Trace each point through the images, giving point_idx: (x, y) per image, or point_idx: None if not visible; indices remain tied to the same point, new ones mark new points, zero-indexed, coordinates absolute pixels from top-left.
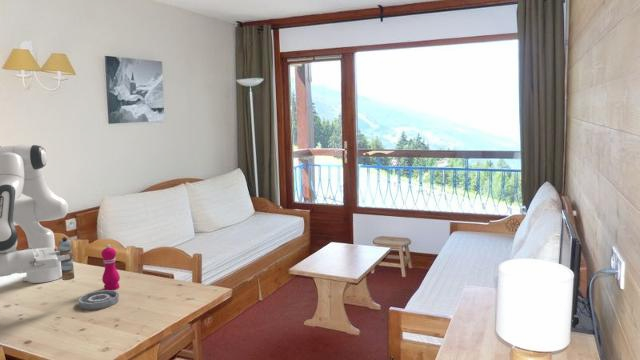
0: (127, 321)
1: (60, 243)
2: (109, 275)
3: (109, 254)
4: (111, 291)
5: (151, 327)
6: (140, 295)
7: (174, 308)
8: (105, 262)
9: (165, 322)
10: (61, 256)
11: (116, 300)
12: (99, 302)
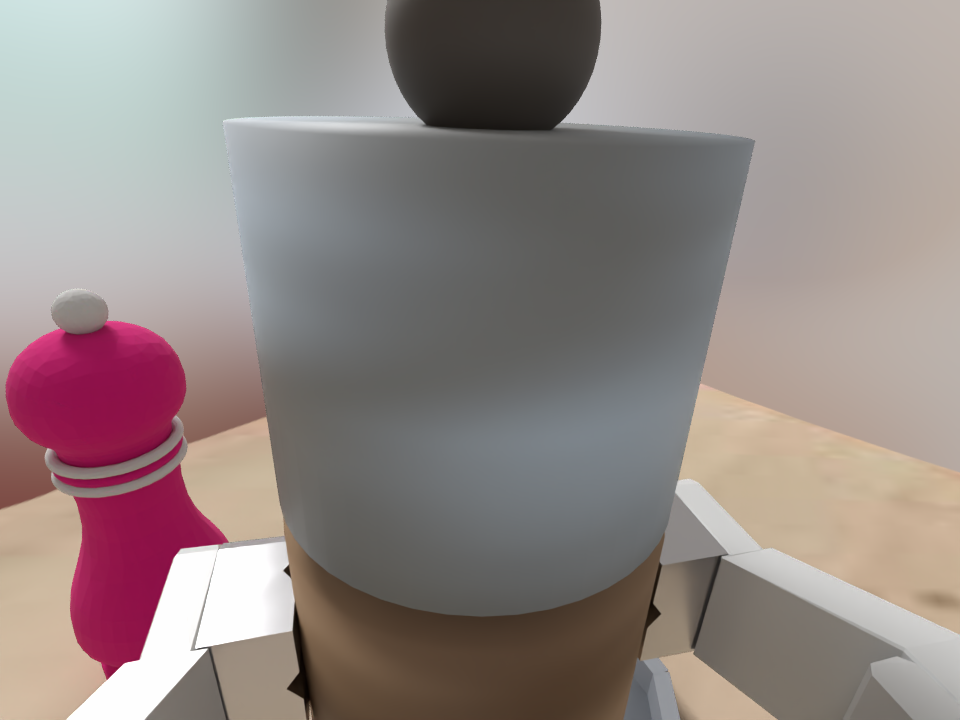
0: (869, 556)
1: (731, 212)
2: None
3: (179, 376)
4: None
5: (914, 481)
6: None
7: None
8: (146, 477)
9: (845, 446)
10: (894, 620)
11: None
12: (665, 678)
